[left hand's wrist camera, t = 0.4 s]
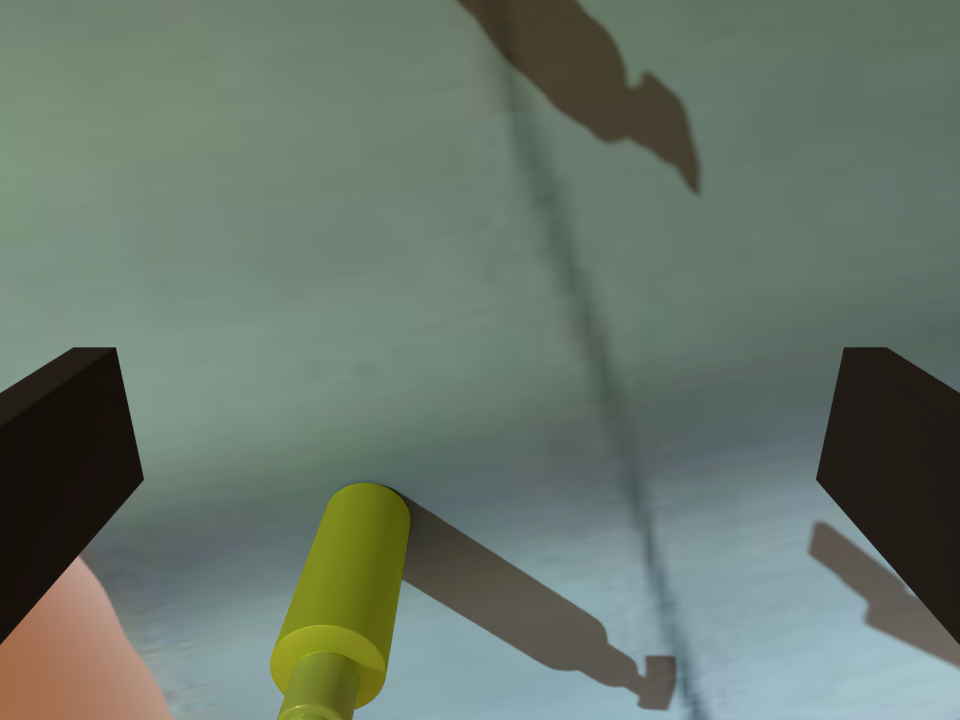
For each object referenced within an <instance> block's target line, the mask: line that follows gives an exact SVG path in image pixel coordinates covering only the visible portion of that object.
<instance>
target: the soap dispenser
mask: <svg viewBox="0 0 960 720" xmlns="http://www.w3.org/2000/svg"><path fill="white" fill-rule="evenodd" d="M410 523H411V520H410V513H409V510H408V508H407V506H406V504H405V502H404V501H403V500H402V498H401V497H400V496H399V495H397V494H396V493H395V492H394V491H392V490H390V489H389V488H387V487H384V486H382V485H378V484H374V483H357V484H352V485H349V486H347V487H345V488H343V489H341V490H339V491H338V492H337V493H336V494H335V495H334V496H333V497H332V498H331V499H330V501H329V503H328V505H327V507H326V510H325V512H324V515H323V518H322V521H321V523H320V526H319V529H318V531H317V534H316V537H315V539H314V542H313V545H312V547H311V550H310V553H309V556H308V558H307V561H306V564H305V566H304V569H303V572H302V574H301V577H300V580H299V583H298V585H297V588H296V591H295V593H294V596H293V599H292V601H291V604H290V607H289V609H288V612H287V615H286V618H285V620H284V623H283V626H282V628H281V631H280V634H279V636H278V639H277V642H276V645H275V647H274V650H273V653H272V656H271V660H270V670H271V675H272V678H273V680H274V682H275V684H276V686H277V687H278V689H279V690H280V691H281V692H282V693H283V694H284V695H285V697H284V700H283V703H282V706H281V709H280V712H279V715H278V718H277V720H352V718H353V713H354V710H355V709H358V708H360V707H362V706H364V705H366V704H368V703H369V702H370V701H372V700H373V699H374V698H375V697H376V696H377V695H378V694H379V692H380V691H381V689H382V687H383V685H384V682H385V679H386V673H387V667H388V661H389V654H390V648H391V642H392V636H393V630H394V623H395V617H396V611H397V605H398V599H399V592H400V586H401V580H402V574H403V568H404V561H405V555H406V549H407V543H408V537H409V530H410Z"/></svg>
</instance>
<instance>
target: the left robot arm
mask: <svg viewBox="0 0 960 720" xmlns="http://www.w3.org/2000/svg"><path fill="white" fill-rule="evenodd" d="M143 480H144V477H143V472H142V468H141V463H140V458H139V454H138V449H137V444H136V440H135V435H134V430H133V425H132V421H131V416H130V411H129V407H128V402H127V397H126V393H125V388H124V383H123V379H122V374H121V369H120V364H119V360H118V355H117V350H116V347H73V348H72V349H70V350H69V351H67V352H65V353H64V354H62V355H61V356H59V357H57V358H56V359H54V360H53V361H51V362H49V363H48V364H46V365H45V366H43V367H41V368H40V369H38V370H37V371H35V372H33V373H32V374H30V375H29V376H27V377H25V378H24V379H22V380H21V381H19V382H17V383H16V384H14V385H13V386H11V387H9V388H8V389H6V390H5V391H3V392H1V393H0V645H1V643H2V642H3V641H4V640H5V639H6V638H7V637H8V635H9V634H10V633H11V632H12V631H13V630H14V629H15V627H16V626H17V625H18V624H19V623H20V622H21V621H22V619H23V618H24V617H25V616H26V615H27V614H28V612H29V611H30V610H31V609H32V608H33V607H34V606H35V604H36V603H37V602H38V601H39V600H40V599H41V598H42V596H43V595H44V594H45V593H46V592H47V591H48V590H49V588H50V587H51V586H52V585H53V584H54V583H55V581H56V580H57V579H58V578H59V577H60V576H61V575H62V573H63V572H64V571H65V570H66V569H67V568H68V567H69V565H70V564H71V563H72V562H73V561H74V560H75V558H76V557H77V556H78V555H79V554H80V553H81V552H82V550H83V549H84V548H85V547H86V546H87V545H88V544H89V542H90V541H91V540H92V539H93V538H94V537H95V535H96V534H97V533H98V532H99V531H100V530H101V529H102V527H103V526H104V525H105V524H106V523H107V522H108V521H109V519H110V518H111V517H112V516H113V515H114V514H115V512H116V511H117V510H118V509H119V508H120V507H121V506H122V504H123V503H124V502H125V501H126V500H127V499H128V498H129V496H130V495H131V494H132V493H133V492H134V491H135V489H136V488H137V487H138V486H139V485H140V484H141V483H142V481H143ZM816 480H817V481H818V483H819V484H820V485H821V486H822V487H823V488H824V489H825V491H826V492H827V493H828V494H829V495H830V496H831V498H832V499H833V500H834V501H835V502H836V503H837V504H838V506H839V507H840V508H841V509H842V510H843V511H844V512H845V514H846V515H847V516H848V517H849V518H850V519H851V521H852V522H853V523H854V524H855V525H856V526H857V527H858V529H859V530H860V531H861V532H862V533H863V534H864V535H865V537H866V538H867V539H868V540H869V541H870V542H871V544H872V545H873V546H874V547H875V548H876V549H877V550H878V552H879V553H880V554H881V555H882V556H883V557H884V558H885V560H886V561H887V562H888V563H889V564H890V565H891V567H892V568H893V569H894V570H895V571H896V572H897V573H898V575H899V576H900V577H901V578H902V579H903V580H904V581H905V583H906V584H907V585H908V586H909V587H910V588H911V590H912V591H913V592H914V593H915V594H916V595H917V596H918V598H919V599H920V600H921V601H922V602H923V603H924V604H925V606H926V607H927V608H928V609H929V610H930V611H931V613H932V614H933V615H934V616H935V617H936V618H937V619H938V621H939V622H940V623H941V624H942V625H943V626H944V627H945V629H946V630H947V631H948V632H949V633H950V634H951V636H952V637H953V638H954V639H955V640H956V641H957V642H958V644H959V645H960V393H959V392H957V391H955V390H954V389H952V388H951V387H949V386H947V385H946V384H944V383H943V382H941V381H939V380H938V379H936V378H935V377H933V376H931V375H930V374H928V373H927V372H925V371H923V370H922V369H920V368H919V367H917V366H915V365H914V364H912V363H911V362H909V361H907V360H906V359H904V358H903V357H901V356H899V355H898V354H896V353H895V352H893V351H891V350H890V349H888V348H887V347H844V350H843V355H842V360H841V364H840V369H839V374H838V379H837V383H836V388H835V393H834V397H833V402H832V407H831V411H830V416H829V421H828V425H827V430H826V435H825V440H824V444H823V449H822V454H821V458H820V463H819V468H818V472H817V477H816Z"/></svg>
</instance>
